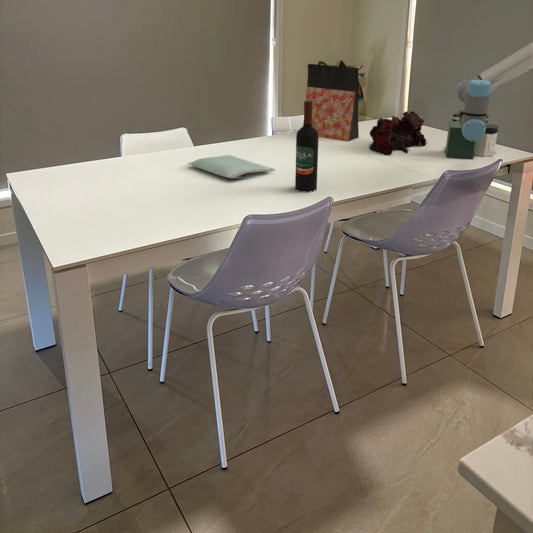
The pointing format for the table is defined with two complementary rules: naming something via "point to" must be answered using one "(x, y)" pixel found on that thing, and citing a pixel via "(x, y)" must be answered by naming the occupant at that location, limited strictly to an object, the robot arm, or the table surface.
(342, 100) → the gift bag
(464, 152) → the tea tin
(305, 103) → the wine bottle
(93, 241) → the table surface
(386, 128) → the flower arrangement
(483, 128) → the robot arm
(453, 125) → the tin lid
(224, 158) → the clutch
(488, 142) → the jar
